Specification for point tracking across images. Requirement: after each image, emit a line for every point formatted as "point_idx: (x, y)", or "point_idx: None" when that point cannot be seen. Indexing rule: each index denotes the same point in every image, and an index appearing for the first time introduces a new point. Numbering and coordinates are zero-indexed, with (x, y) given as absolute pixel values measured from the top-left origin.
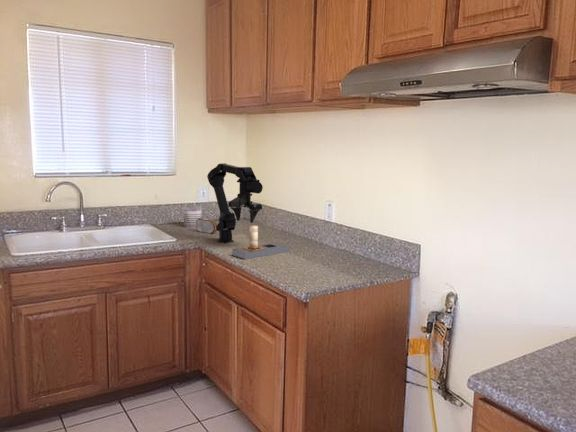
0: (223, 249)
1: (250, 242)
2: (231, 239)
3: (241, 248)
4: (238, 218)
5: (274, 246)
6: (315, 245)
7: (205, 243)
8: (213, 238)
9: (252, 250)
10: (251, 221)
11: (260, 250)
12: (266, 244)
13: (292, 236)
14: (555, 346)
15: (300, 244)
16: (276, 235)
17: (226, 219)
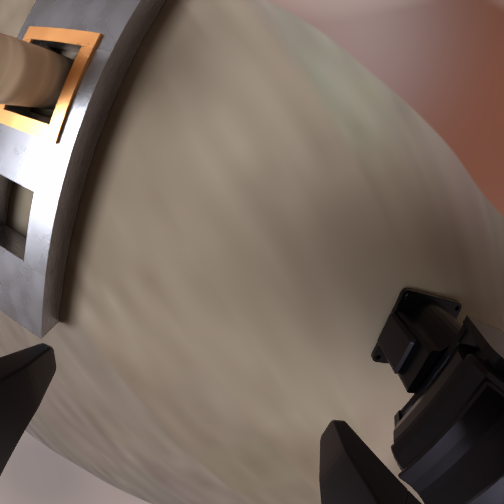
0: (327, 100)
1: (22, 40)
2: (382, 342)
3: (110, 25)
4: (333, 457)
5: (1, 242)
6: None
7: (497, 224)
8: None
9: (29, 27)
10: (23, 354)
11: None
12: (34, 245)
13: (163, 498)
14: None
15: (45, 407)
16: (226, 501)
17: (494, 402)
